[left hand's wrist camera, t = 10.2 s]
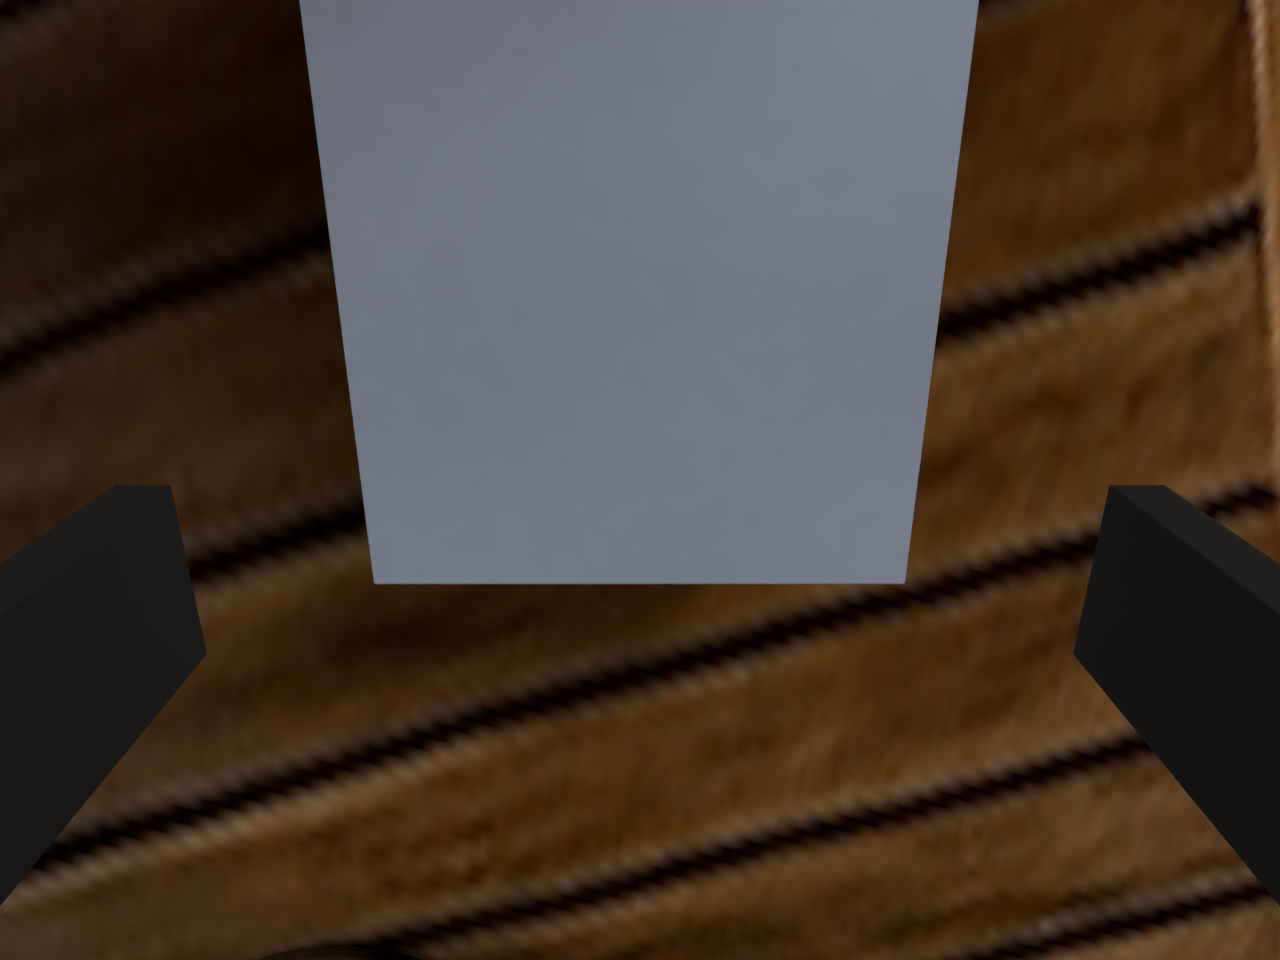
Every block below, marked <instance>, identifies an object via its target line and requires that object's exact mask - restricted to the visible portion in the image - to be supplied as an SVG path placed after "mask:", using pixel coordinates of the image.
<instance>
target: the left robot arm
mask: <svg viewBox="0 0 1280 960" xmlns="http://www.w3.org/2000/svg"><path fill="white" fill-rule="evenodd" d="M206 654H207V653H206V648H205V643H204V639H203V634H202V629H201V625H200V620H199V616H198V611H197V606H196V602H195V597H194V592H193V588H192V583H191V579H190V574H189V569H188V565H187V560H186V555H185V551H184V546H183V542H182V537H181V532H180V528H179V523H178V518H177V514H176V509H175V505H174V500H173V495H172V491H171V486H170V485H115V486H114V487H113V488H111V489H110V490H108V491H107V492H105V493H104V494H102V495H101V496H99V497H98V498H97V499H95V500H94V501H92V502H91V503H89V504H88V505H86V506H85V507H83V508H82V509H81V510H79V511H78V512H76V513H75V514H73V515H72V516H70V517H69V518H67V519H66V520H64V521H63V522H62V523H60V524H59V525H57V526H56V527H54V528H53V529H51V530H50V531H48V532H47V533H46V534H44V535H43V536H41V537H40V538H38V539H37V540H35V541H34V542H32V543H31V544H30V545H28V546H27V547H25V548H24V549H22V550H21V551H19V552H18V553H16V554H15V555H14V556H12V557H11V558H9V559H8V560H6V561H5V562H3V563H2V564H0V905H1V904H2V903H3V902H4V901H5V899H6V898H7V897H8V896H9V894H10V893H11V892H12V891H13V890H14V888H15V887H16V886H17V885H18V883H19V882H20V881H21V880H22V879H23V877H24V876H25V875H26V874H27V872H28V871H29V870H30V869H31V868H32V866H33V865H34V864H35V863H36V861H37V860H38V859H39V858H40V857H41V855H42V854H43V853H44V852H45V851H46V849H47V848H48V847H49V846H50V844H51V843H52V842H53V841H54V840H55V838H56V837H57V836H58V835H59V833H60V832H61V831H62V830H63V829H64V827H65V826H66V825H67V824H68V822H69V821H70V820H71V819H72V818H73V816H74V815H75V814H76V813H77V811H78V810H79V809H80V808H81V807H82V805H83V804H84V803H85V802H86V800H87V799H88V798H89V797H90V796H91V794H92V793H93V792H94V791H95V790H96V788H97V787H98V786H99V785H100V783H101V782H102V781H103V780H104V779H105V777H106V776H107V775H108V774H109V772H110V771H111V770H112V769H113V768H114V766H115V765H116V764H117V763H118V761H119V760H120V759H121V758H122V757H123V755H124V754H125V753H126V752H127V750H128V749H129V748H130V747H131V746H132V744H133V743H134V742H135V741H136V739H137V738H138V737H139V736H140V735H141V733H142V732H143V731H144V730H145V729H146V727H147V726H148V725H149V724H150V722H151V721H152V720H153V719H154V718H155V716H156V715H157V714H158V713H159V711H160V710H161V709H162V708H163V707H164V705H165V704H166V703H167V702H168V700H169V699H170V698H171V697H172V696H173V694H174V693H175V692H176V691H177V689H178V688H179V687H180V686H181V685H182V683H183V682H184V681H185V680H186V679H187V677H188V676H189V675H190V674H191V672H192V671H193V670H194V669H195V668H196V666H197V665H198V664H199V663H200V661H201V660H202V659H203V658H204V657H205V655H206ZM1073 654H1074V655H1075V657H1076V658H1077V659H1078V660H1079V661H1080V663H1081V664H1082V665H1083V666H1084V668H1085V669H1086V670H1087V671H1088V672H1089V674H1090V675H1091V676H1092V677H1093V679H1094V680H1095V681H1096V682H1097V683H1098V685H1099V686H1100V687H1101V688H1102V689H1103V691H1104V692H1105V693H1106V694H1107V696H1108V697H1109V698H1110V699H1111V700H1112V702H1113V703H1114V704H1115V705H1116V707H1117V708H1118V709H1119V710H1120V711H1121V713H1122V714H1123V715H1124V716H1125V718H1126V719H1127V720H1128V721H1129V722H1130V724H1131V725H1132V726H1133V727H1134V729H1135V730H1136V731H1137V732H1138V733H1139V735H1140V736H1141V737H1142V738H1143V739H1144V741H1145V742H1146V743H1147V744H1148V746H1149V747H1150V748H1151V749H1152V750H1153V752H1154V753H1155V754H1156V755H1157V757H1158V758H1159V759H1160V760H1161V761H1162V763H1163V764H1164V765H1165V766H1166V768H1167V769H1168V770H1169V771H1170V772H1171V774H1172V775H1173V776H1174V777H1175V779H1176V780H1177V781H1178V782H1179V783H1180V785H1181V786H1182V787H1183V788H1184V790H1185V791H1186V792H1187V793H1188V794H1189V796H1190V797H1191V798H1192V799H1193V800H1194V802H1195V803H1196V804H1197V805H1198V807H1199V808H1200V809H1201V810H1202V811H1203V813H1204V814H1205V815H1206V816H1207V818H1208V819H1209V820H1210V821H1211V822H1212V824H1213V825H1214V826H1215V827H1216V829H1217V830H1218V831H1219V832H1220V833H1221V835H1222V836H1223V837H1224V838H1225V840H1226V841H1227V842H1228V843H1229V844H1230V846H1231V847H1232V848H1233V849H1234V851H1235V852H1236V853H1237V854H1238V855H1239V857H1240V858H1241V859H1242V860H1243V861H1244V863H1245V864H1246V865H1247V866H1248V868H1249V869H1250V870H1251V871H1252V872H1253V874H1254V875H1255V876H1256V877H1257V879H1258V880H1259V881H1260V882H1261V883H1262V885H1263V886H1264V887H1265V888H1266V890H1267V891H1268V892H1269V893H1270V894H1271V896H1272V897H1273V898H1274V899H1275V901H1276V902H1277V903H1278V904H1279V905H1280V564H1278V563H1277V562H1275V561H1274V560H1272V559H1271V558H1269V557H1268V556H1266V555H1265V554H1264V553H1262V552H1261V551H1259V550H1258V549H1256V548H1255V547H1253V546H1252V545H1250V544H1249V543H1248V542H1246V541H1245V540H1243V539H1242V538H1240V537H1239V536H1237V535H1236V534H1234V533H1233V532H1232V531H1230V530H1229V529H1227V528H1226V527H1224V526H1223V525H1221V524H1220V523H1218V522H1217V521H1216V520H1214V519H1213V518H1211V517H1210V516H1208V515H1207V514H1205V513H1204V512H1202V511H1201V510H1199V509H1198V508H1197V507H1195V506H1194V505H1192V504H1191V503H1189V502H1188V501H1186V500H1185V499H1183V498H1182V497H1181V496H1179V495H1178V494H1176V493H1175V492H1173V491H1172V490H1170V489H1169V488H1167V487H1166V486H1165V485H1110V486H1109V491H1108V495H1107V500H1106V505H1105V509H1104V514H1103V518H1102V523H1101V528H1100V532H1099V537H1098V542H1097V546H1096V551H1095V555H1094V560H1093V565H1092V569H1091V574H1090V579H1089V583H1088V588H1087V592H1086V597H1085V602H1084V606H1083V611H1082V616H1081V620H1080V625H1079V629H1078V634H1077V639H1076V643H1075V648H1074V653H1073ZM261 960H421V959H418V958H415V957H411V956H407V955H403V954H399V953H395V952H389V951H384V950H378V949H370V948H361V947H340V946H338V947H317V948H307V949H300V950H294V951H289V952H284V953H280V954H276V955H273V956H269V957H266V958H263V959H261Z"/></svg>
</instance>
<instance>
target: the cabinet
mask: <svg viewBox="0 0 1280 960" xmlns="http://www.w3.org/2000/svg"><path fill="white" fill-rule="evenodd" d="M299 2H300V9H301V17H302V25H303V33H304V41H305V49H306V56H307V64H308V72H309V80H310V88H311V96H312V103H313V111H314V119H315V127H316V135H317V143H318V150H319V158H320V166H321V174H322V182H323V189H324V197H325V205H326V213H327V221H328V229H329V236H330V244H331V252H332V260H333V268H334V276H335V283H336V291H337V299H338V307H339V315H340V323H341V330H342V338H343V346H344V354H345V362H346V370H347V377H348V385H349V393H350V401H351V409H352V417H353V424H354V432H355V440H356V448H357V456H358V463H359V471H360V479H361V487H362V495H363V503H364V510H365V518H366V526H367V534H368V542H369V550H370V557H371V565H372V573H373V581H374V584H904V583H905V577H906V570H907V562H908V554H909V546H910V538H911V530H912V522H913V515H914V507H915V499H916V491H917V483H918V475H919V467H920V460H921V452H922V444H923V436H924V428H925V420H926V412H927V405H928V397H929V389H930V381H931V373H932V365H933V357H934V349H935V342H936V334H937V326H938V318H939V310H940V302H941V294H942V287H943V279H944V271H945V263H946V255H947V247H948V239H949V232H950V224H951V216H952V208H953V200H954V192H955V184H956V177H957V169H958V161H959V153H960V145H961V137H962V129H963V122H964V114H965V106H966V98H967V90H968V82H969V74H970V67H971V59H972V51H973V43H974V35H975V27H976V19H977V11H978V4H979V0H299Z"/></svg>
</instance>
